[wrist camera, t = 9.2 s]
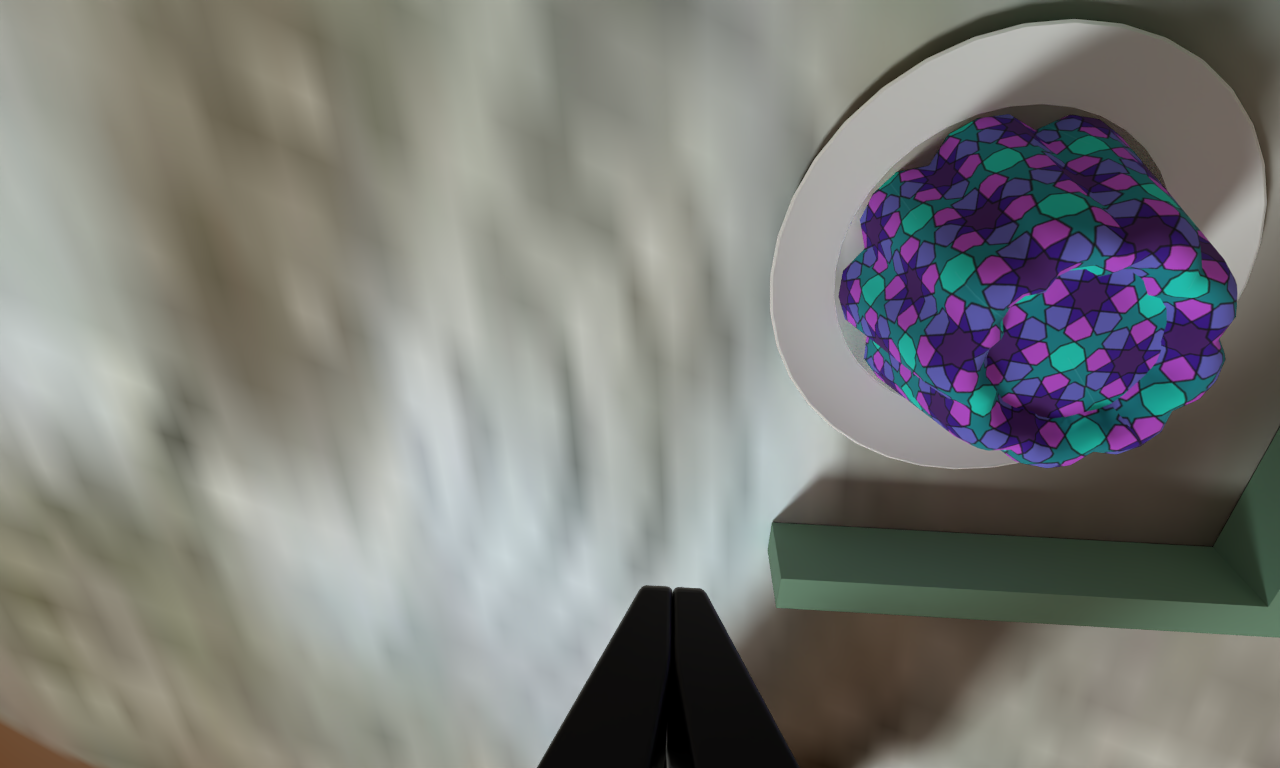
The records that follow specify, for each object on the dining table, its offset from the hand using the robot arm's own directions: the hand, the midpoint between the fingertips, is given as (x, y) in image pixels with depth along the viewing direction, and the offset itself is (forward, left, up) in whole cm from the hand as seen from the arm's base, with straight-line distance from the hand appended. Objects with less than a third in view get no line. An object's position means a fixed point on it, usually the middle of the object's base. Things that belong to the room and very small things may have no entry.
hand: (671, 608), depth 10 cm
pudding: (+8, +1, -12) cm, 15 cm away
